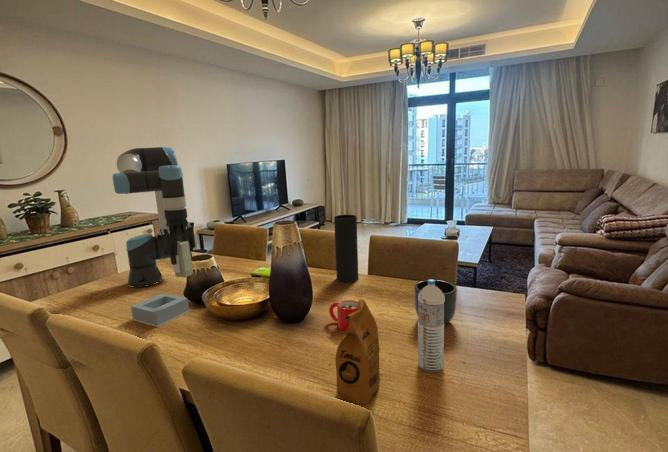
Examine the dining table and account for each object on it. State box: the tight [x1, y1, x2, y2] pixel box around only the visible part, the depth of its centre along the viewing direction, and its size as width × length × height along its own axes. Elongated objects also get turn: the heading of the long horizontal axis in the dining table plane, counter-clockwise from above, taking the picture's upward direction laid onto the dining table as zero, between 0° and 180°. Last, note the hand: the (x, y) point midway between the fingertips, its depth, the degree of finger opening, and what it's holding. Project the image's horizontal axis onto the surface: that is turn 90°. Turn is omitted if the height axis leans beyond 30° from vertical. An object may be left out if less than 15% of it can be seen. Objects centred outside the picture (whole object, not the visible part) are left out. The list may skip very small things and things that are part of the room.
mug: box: [328, 299, 358, 332], centre depth 127 cm, size 8×12×8 cm, turn 59°
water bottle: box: [417, 278, 445, 374], centre depth 99 cm, size 7×7×25 cm
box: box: [174, 241, 194, 278], centre depth 137 cm, size 5×4×13 cm
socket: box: [130, 293, 190, 328], centre depth 141 cm, size 14×14×6 cm
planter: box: [413, 279, 458, 327], centre depth 126 cm, size 14×14×13 cm
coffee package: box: [334, 298, 381, 405], centre depth 91 cm, size 10×12×22 cm
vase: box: [333, 214, 359, 284], centre depth 170 cm, size 10×10×30 cm
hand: (183, 269), depth 138 cm, fingers closed on box, 5 cm apart
